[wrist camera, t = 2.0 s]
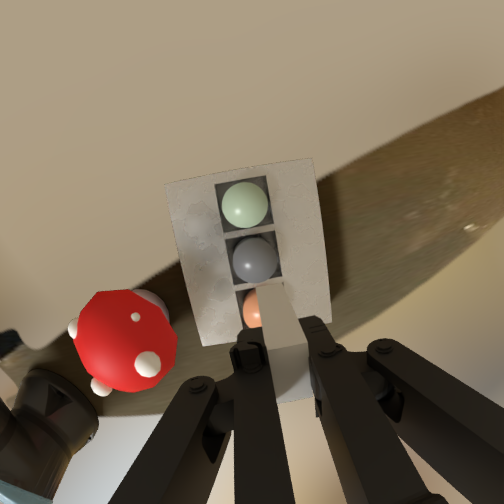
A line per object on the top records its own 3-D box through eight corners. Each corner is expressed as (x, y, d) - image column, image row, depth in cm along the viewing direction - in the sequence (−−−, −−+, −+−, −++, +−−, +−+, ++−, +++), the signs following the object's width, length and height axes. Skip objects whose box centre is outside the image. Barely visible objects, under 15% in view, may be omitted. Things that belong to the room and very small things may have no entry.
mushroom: (102, 339, 33) (61, 395, 21) (104, 259, 31) (48, 296, 19) (180, 359, 34) (162, 427, 22) (192, 278, 32) (170, 329, 20)
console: (205, 331, 33) (202, 346, 30) (172, 184, 29) (164, 184, 26) (323, 309, 33) (331, 322, 30) (303, 160, 29) (312, 157, 26)
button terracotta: (246, 325, 30) (247, 335, 28) (239, 290, 29) (239, 298, 27) (284, 318, 30) (287, 327, 28) (278, 283, 29) (282, 291, 27)
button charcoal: (237, 279, 29) (237, 287, 27) (229, 240, 28) (228, 244, 26) (277, 272, 29) (280, 279, 27) (270, 232, 28) (273, 236, 26)
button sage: (227, 228, 28) (226, 231, 26) (219, 186, 27) (218, 186, 25) (268, 220, 28) (271, 223, 26) (261, 179, 27) (263, 178, 25)
